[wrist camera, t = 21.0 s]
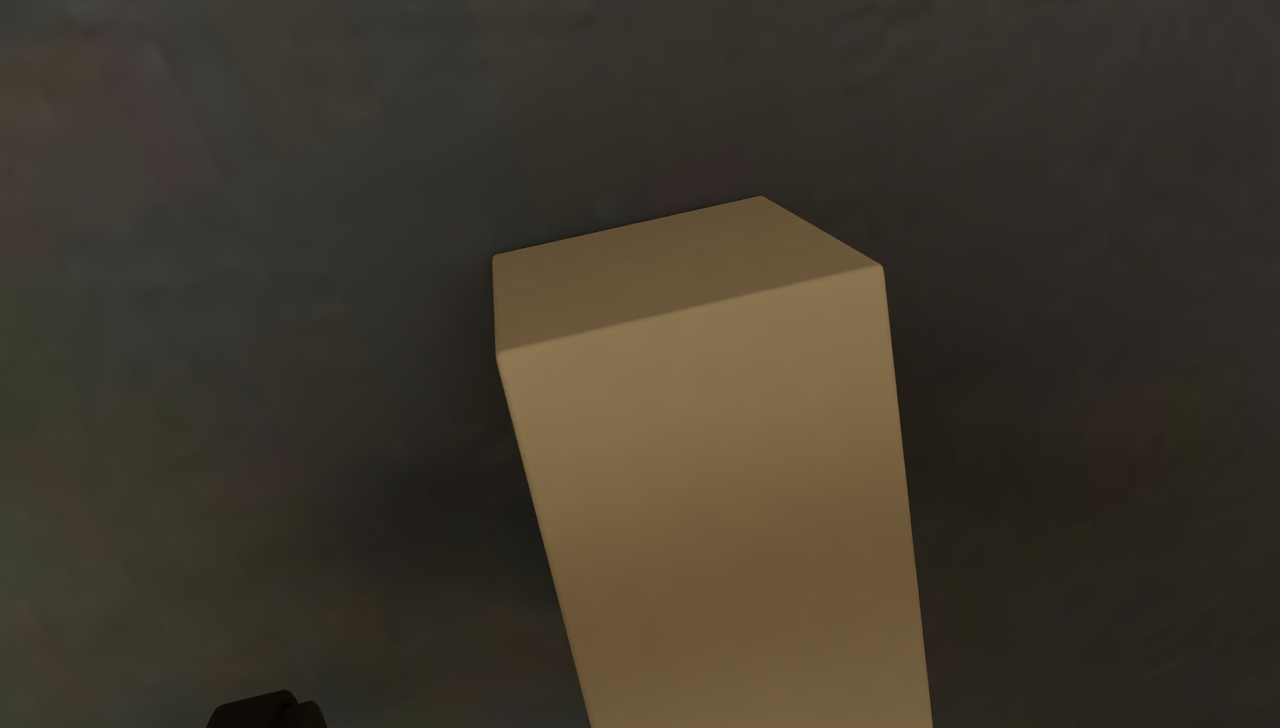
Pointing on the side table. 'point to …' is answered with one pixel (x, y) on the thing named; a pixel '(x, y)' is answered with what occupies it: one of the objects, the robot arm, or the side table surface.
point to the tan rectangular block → (718, 470)
